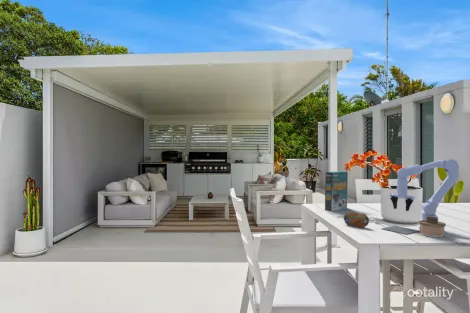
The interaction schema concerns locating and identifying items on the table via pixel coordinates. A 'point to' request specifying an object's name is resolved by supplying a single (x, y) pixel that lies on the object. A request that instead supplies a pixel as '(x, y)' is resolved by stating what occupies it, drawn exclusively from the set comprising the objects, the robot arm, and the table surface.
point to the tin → (356, 219)
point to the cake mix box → (336, 190)
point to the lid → (432, 222)
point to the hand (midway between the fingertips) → (401, 209)
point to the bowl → (431, 231)
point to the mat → (400, 230)
